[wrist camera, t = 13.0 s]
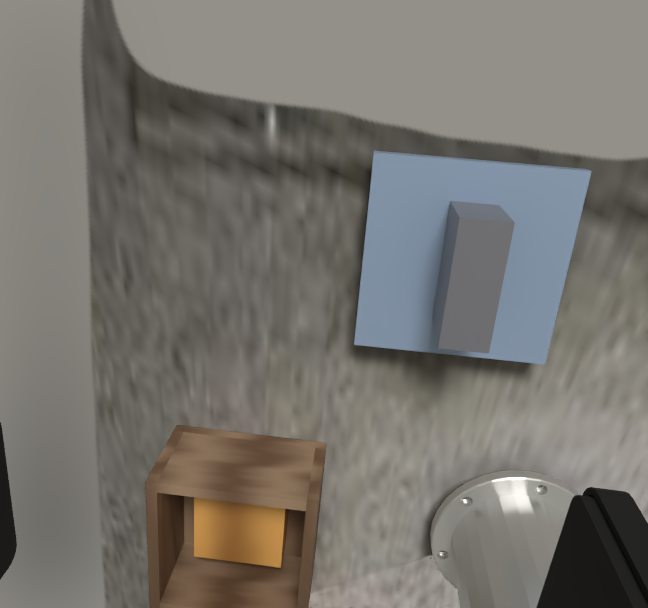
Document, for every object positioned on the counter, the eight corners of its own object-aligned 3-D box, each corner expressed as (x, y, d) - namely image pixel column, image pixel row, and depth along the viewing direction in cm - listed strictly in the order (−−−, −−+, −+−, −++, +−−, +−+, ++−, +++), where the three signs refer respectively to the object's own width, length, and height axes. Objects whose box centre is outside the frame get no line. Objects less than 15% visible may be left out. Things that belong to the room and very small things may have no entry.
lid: (579, 165, 38) (619, 185, 31) (536, 349, 42) (564, 398, 36) (374, 147, 38) (373, 163, 32) (355, 331, 43) (351, 376, 37)
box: (326, 443, 47) (318, 503, 40) (314, 558, 51) (305, 630, 45) (176, 425, 47) (145, 481, 41) (178, 541, 52) (149, 609, 45)
